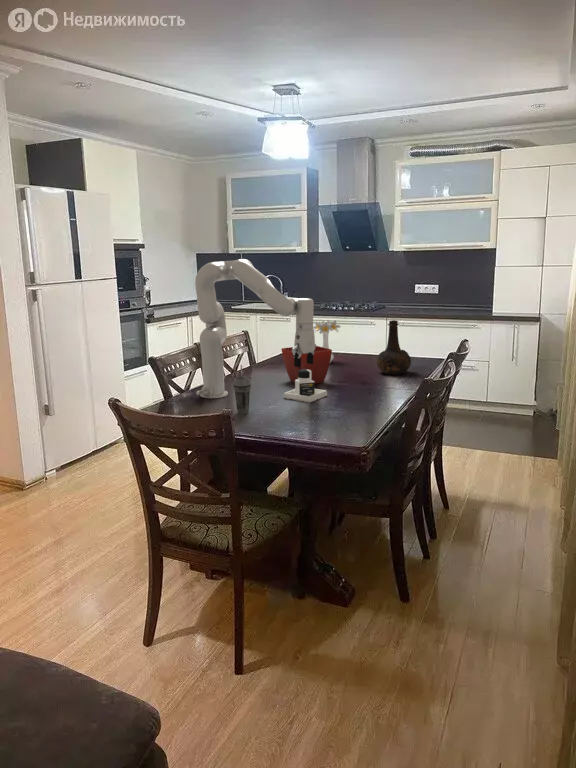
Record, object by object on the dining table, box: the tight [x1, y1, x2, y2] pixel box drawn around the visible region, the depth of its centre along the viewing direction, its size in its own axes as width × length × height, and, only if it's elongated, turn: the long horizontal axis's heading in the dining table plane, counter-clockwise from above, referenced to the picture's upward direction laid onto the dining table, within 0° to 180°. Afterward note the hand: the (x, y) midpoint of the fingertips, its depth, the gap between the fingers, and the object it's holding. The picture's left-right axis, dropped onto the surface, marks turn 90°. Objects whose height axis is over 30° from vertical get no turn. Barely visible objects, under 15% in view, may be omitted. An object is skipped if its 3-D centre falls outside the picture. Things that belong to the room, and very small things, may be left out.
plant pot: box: [281, 345, 333, 385], centre depth 289 cm, size 19×19×17 cm
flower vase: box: [313, 319, 341, 364], centre depth 338 cm, size 13×18×25 cm
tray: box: [283, 388, 328, 404], centre depth 261 cm, size 14×14×2 cm
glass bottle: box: [375, 319, 412, 376], centre depth 306 cm, size 18×18×28 cm
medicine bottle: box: [294, 369, 316, 396], centre depth 260 cm, size 7×7×12 cm
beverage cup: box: [232, 364, 252, 415], centre depth 235 cm, size 7×7×20 cm
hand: (303, 365), depth 258 cm, fingers open, 9 cm apart
